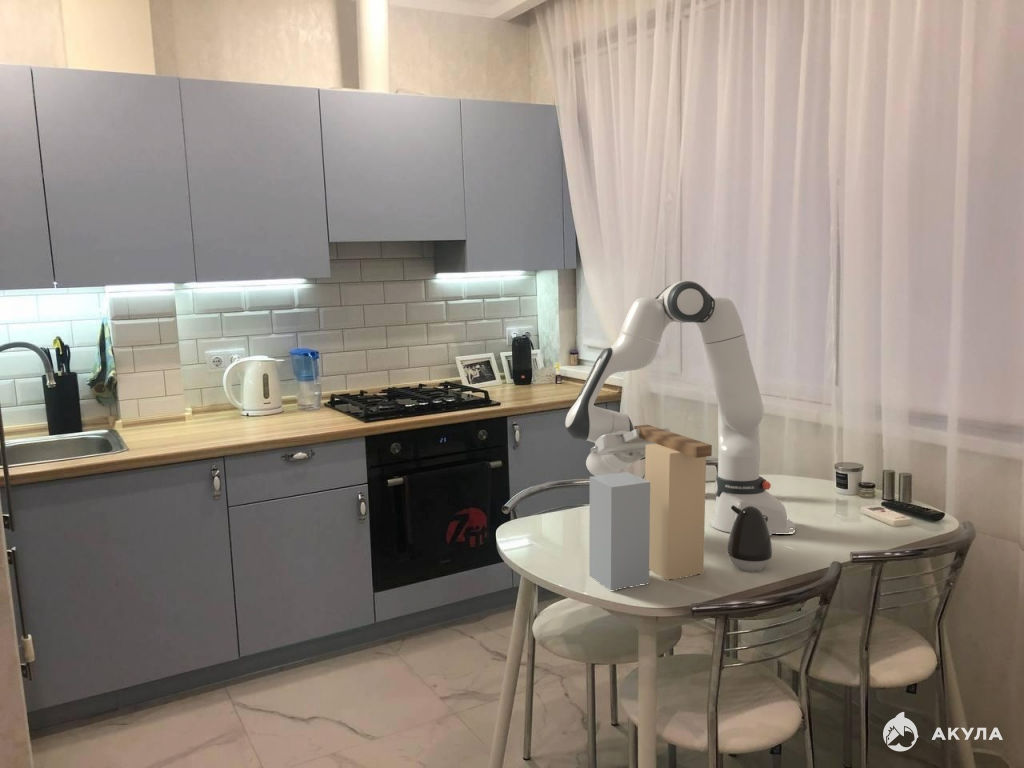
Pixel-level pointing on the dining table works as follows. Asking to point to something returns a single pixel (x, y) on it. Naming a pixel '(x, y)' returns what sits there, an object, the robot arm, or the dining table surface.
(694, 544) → the carton
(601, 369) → the robot arm
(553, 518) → the dining table surface
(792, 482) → the dining table surface
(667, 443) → the slat
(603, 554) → the grey box
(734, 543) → the pump dispenser
